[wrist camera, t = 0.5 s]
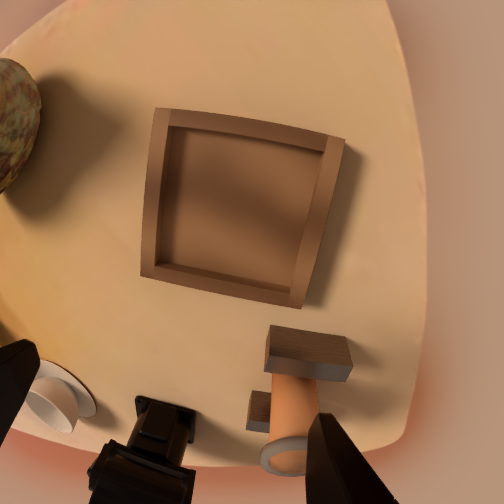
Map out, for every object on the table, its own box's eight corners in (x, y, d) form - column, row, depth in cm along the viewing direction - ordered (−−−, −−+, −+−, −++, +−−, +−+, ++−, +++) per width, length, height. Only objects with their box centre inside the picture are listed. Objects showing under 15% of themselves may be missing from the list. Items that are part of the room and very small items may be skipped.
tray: (299, 295, 21) (301, 309, 20) (149, 265, 21) (140, 275, 20) (339, 139, 17) (345, 139, 16) (165, 109, 17) (155, 107, 16)
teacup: (29, 344, 27) (8, 367, 23) (98, 384, 28) (80, 413, 23) (38, 390, 31) (22, 412, 26) (97, 425, 31) (84, 450, 27)
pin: (311, 393, 25) (317, 477, 17) (261, 386, 25) (253, 473, 17) (327, 357, 23) (342, 448, 15) (272, 348, 23) (268, 442, 15)
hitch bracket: (311, 409, 26) (313, 437, 23) (249, 400, 26) (245, 429, 23) (345, 336, 22) (353, 366, 19) (270, 324, 22) (268, 355, 19)
